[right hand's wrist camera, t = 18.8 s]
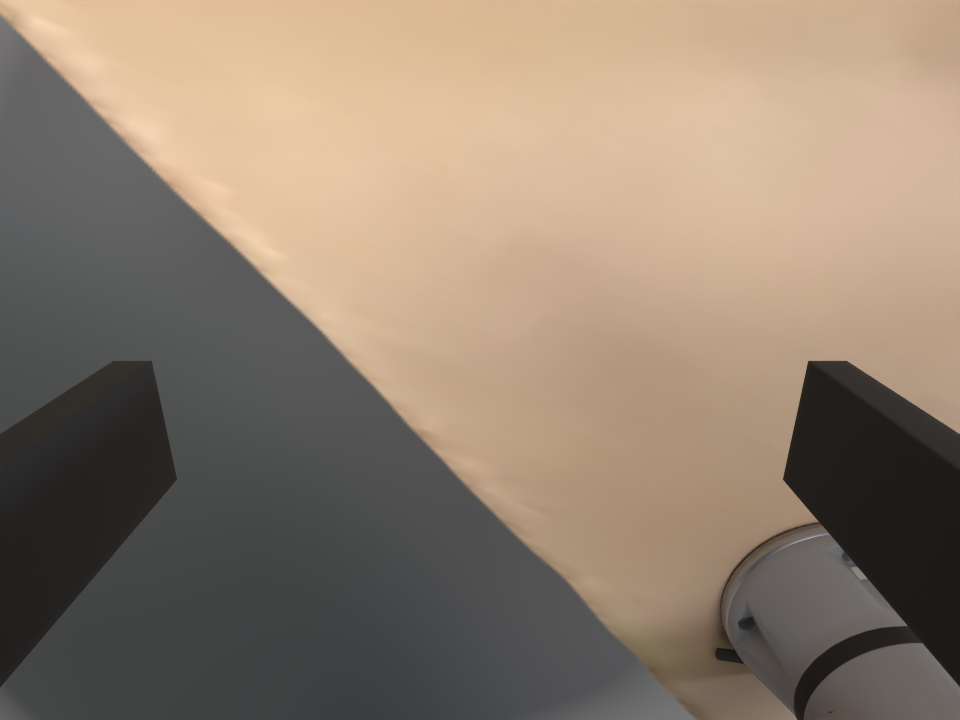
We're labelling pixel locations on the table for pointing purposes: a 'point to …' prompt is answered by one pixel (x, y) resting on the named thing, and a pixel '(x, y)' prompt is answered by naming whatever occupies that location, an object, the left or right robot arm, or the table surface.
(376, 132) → the table surface
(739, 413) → the table surface
